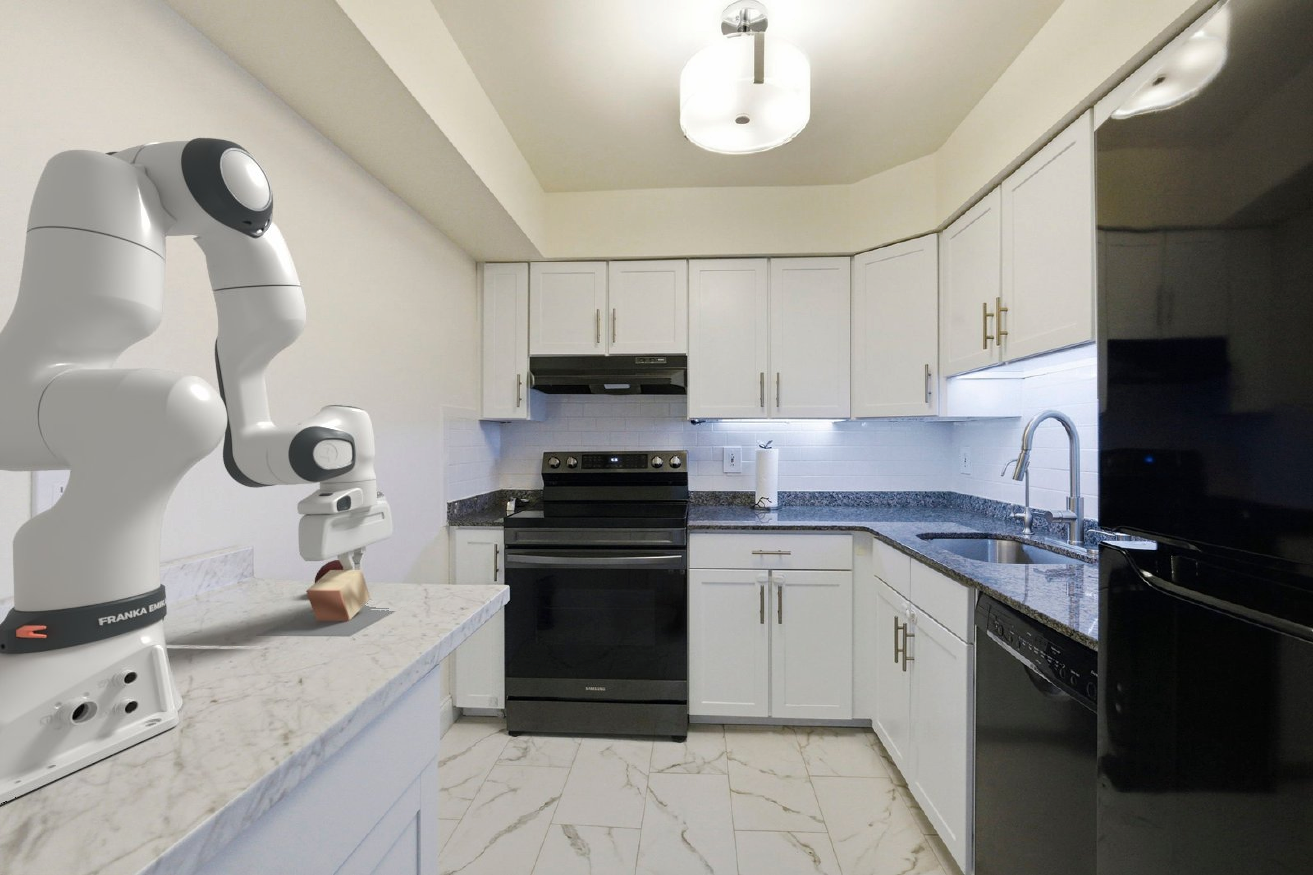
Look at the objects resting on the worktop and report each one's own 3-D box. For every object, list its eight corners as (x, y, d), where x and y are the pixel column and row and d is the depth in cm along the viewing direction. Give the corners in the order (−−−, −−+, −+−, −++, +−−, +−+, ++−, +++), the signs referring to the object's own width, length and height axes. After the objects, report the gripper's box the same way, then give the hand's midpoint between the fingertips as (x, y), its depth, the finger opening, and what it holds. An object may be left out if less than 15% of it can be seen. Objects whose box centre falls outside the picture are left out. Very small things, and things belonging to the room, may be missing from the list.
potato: (361, 595, 109) (360, 560, 109) (315, 602, 105) (314, 566, 105) (357, 587, 115) (356, 554, 115) (314, 594, 111) (313, 560, 111)
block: (370, 598, 97) (348, 621, 91) (339, 598, 98) (316, 620, 92) (361, 570, 95) (339, 591, 89) (330, 570, 96) (306, 590, 90)
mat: (349, 639, 84) (349, 636, 84) (255, 638, 86) (255, 635, 86) (417, 602, 103) (417, 599, 103) (338, 602, 105) (338, 599, 105)
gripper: (369, 490, 107) (373, 560, 108) (288, 505, 87) (293, 591, 87) (399, 489, 107) (403, 560, 107) (325, 504, 86) (329, 591, 87)
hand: (352, 574), depth 97 cm, fingers closed
